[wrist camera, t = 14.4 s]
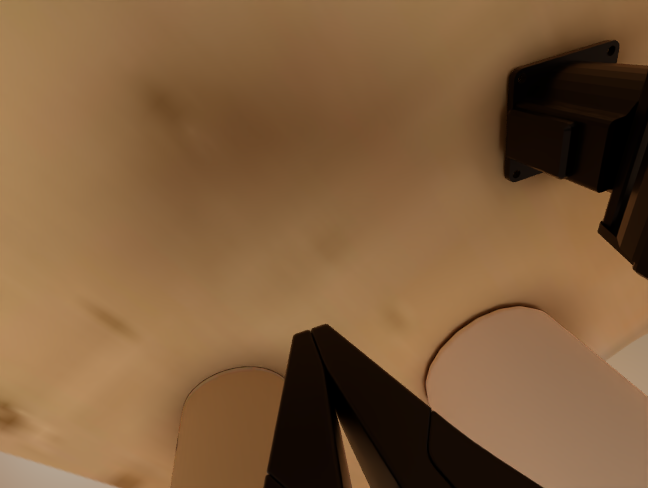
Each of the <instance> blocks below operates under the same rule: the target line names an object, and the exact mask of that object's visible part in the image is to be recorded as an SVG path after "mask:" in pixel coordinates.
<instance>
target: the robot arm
mask: <svg viewBox="0 0 648 488" xmlns="http://www.w3.org/2000/svg"><path fill="white" fill-rule="evenodd" d="M608 49H609V50H608ZM618 52H619V43H618V41H616V40H606V41H603V42H600V43H597V44H593V45H590V46H587V47H584V48H580V49H577V50H574V51H571V52H567V53H564V54H561V55H557V56H554V57H551V58H548V59H544V60H541V61H538V62H535V63H531V64H528V65H525V66H522V67H518V68H516V69H514V70H513V72H512V73H511V75H510V77H509V90H508V114H507V137H506V160H505V178H506V179H507V180H510V181H512V182H517V181H520V180H523V179H526V178H528V177H531V176H534V175H537V174H540V173H543V172H544V173H546V174H549V175H551V176H553V177H556V178H558V179H566V180H569V181H571V182H574V183H576V184H579V185H581V186H583V187H586V188H588V189H591V190H593V191H596V192H598V193H600V192H604V191H607V192H610V193H611V195H610V199H609V202H608V206H607V209H606V212H605V216H604V219H603V221H601V222H600V225H599V228H598V233H599V234H600V235H601V236H602V237H603V238H604V239H605V240H606V241H607V242H609V243H610V244H611V245H612V246H613V247H614V248H615V249H616V250H617V251H618V252H619V253H620V254H621V255H622V256H623V257H625V258H626V259H627V260H628V261H629V262H630V263H631V264H632V265H633V270H634V271H635V272H637V273H638V274H639V275H640V276H642V277H644V278H645V279H647V280H648V66H644V65H630V64H617V58H618ZM520 75H521V79H520V81H519V82H518V78H519V76H520ZM515 171H516V172H515ZM514 172H515V174H514V175H513V173H514ZM336 413H337V414H336ZM337 416H338V418H339V421H340V423H341V426H342V428H343V430H344V432H345V434H346V436H347V439H348V441H349V443H350V445H351V447H352V449H353V451H354V454H355V456H356V458H357V460H358V462H359V464H360V466H361V468H362V471H363V473H364V475H365V477H366V479H367V481H368V483H369V485H370V488H543V487H542V486H540V485H539V484H537V483H536V482H534V481H533V480H531V479H530V478H528V477H527V476H525V475H523V474H522V473H520V472H519V471H517V470H516V469H514V468H513V467H511V466H510V465H508V464H507V463H505V462H504V461H502V460H500V459H499V458H497V457H496V456H494V455H493V454H492V453H490V452H489V451H487V450H486V449H484V448H483V447H481V446H480V445H478V444H477V443H475V442H474V441H473V440H471V439H470V438H468V437H467V436H466V435H465V434H463V433H462V432H461V431H459V430H458V429H457V428H455V427H454V426H453V425H451V424H450V423H449V422H448V421H446V420H445V419H444V418H443V417H442V416H440V415H439V414H438V413H437V412H435V411H432V410H431V408H430V407H429V406H428V405H427V404H425V403H424V402H423V401H422V400H420V399H419V398H418V397H417V396H415V395H414V394H413V393H412V392H411V391H409V390H408V389H407V388H406V387H404V386H403V385H402V384H401V383H399V382H398V381H397V380H396V379H395V378H393V377H392V376H391V375H390V374H388V373H387V372H386V371H385V370H383V369H382V368H381V367H380V366H379V365H377V364H376V363H375V362H374V361H372V360H371V359H370V358H369V357H367V356H366V355H365V354H364V353H363V352H361V351H360V350H359V349H358V348H356V347H355V346H354V345H353V344H351V343H350V342H349V341H348V340H347V339H345V338H344V337H343V336H342V335H340V334H339V333H338V332H337V331H335V330H334V329H333V328H332V327H331V326H329V325H328V324H323V325H320V326H317V327H314V328H312V330H311V331H310V330H306V331H303V332H300V333H297V334H295V335H294V336H293V339H292V344H291V349H290V354H289V359H288V364H287V369H286V375H285V380H284V385H283V390H282V395H281V400H280V405H279V410H278V415H277V420H276V425H275V430H274V436H273V441H272V446H271V451H270V456H269V461H268V466H267V471H266V472H267V474H268V475H266V476H265V480H264V485H263V488H352V485H351V480H350V475H349V470H348V465H347V460H346V455H345V450H344V445H343V440H342V435H341V430H340V426H339V422H338V418H337Z"/></svg>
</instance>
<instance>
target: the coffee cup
mask: <svg viewBox="0 0 648 488" xmlns="http://www.w3.org/2000/svg"><path fill="white" fill-rule="evenodd" d="M284 380H285V379H284V378H283V377H282V376H280V375H279V374H277V373H275V372H273V371H270V370H268V369H264V368H258V367H241V368H235V369H230V370H226V371H223V372H220V373H218V374H215V375H213V376H211V377H209V378H208V379H206V380H205V381H203V382H202V383H200V384H199V385H198V386H197V387H196V388H195V389H194V390H193V391H192V392H191V393H190V395H189V396H188V398H187V400H186V401H185V404H184V407H183V410H182V416H181V421H180V427H179V433H178V440H177V446H176V453H175V460H174V466H173V473H172V480H171V487H170V488H263V485H264V480H265V476H266V475H268V474H267V472H266V471H267V466H268V461H269V456H270V451H271V446H272V441H273V436H274V430H275V425H276V420H277V415H278V410H279V405H280V400H281V395H282V390H283V385H284Z"/></svg>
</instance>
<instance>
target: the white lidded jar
mask: <svg viewBox="0 0 648 488" xmlns="http://www.w3.org/2000/svg"><path fill="white" fill-rule="evenodd" d="M426 390H427V396H428V402H429V405H430V407H431V408H432V410H433V411H435V412H437V413H438V414H439V415H440V416H442V417H443V418H444V419H445V420H446V421H448V422H449V423H450V424H451V425H453V426H454V427H455V428H457V429H458V430H459V431H461V432H462V433H463V434H465V435H466V436H467V437H468V438H470V439H471V440H473V441H474V442H475V443H477V444H478V445H480V446H481V447H483V448H484V449H486V450H487V451H489V452H490V453H492V454H493V455H494V456H496V457H497V458H499V459H500V460H502V461H504V462H505V463H507V464H508V465H510V466H511V467H513V468H514V469H516V470H517V471H519V472H520V473H522V474H523V475H525V476H527V477H528V478H530V479H531V480H533V481H534V482H536V483H537V484H539V485H540V486H542V487H543V488H648V396H647V395H645V394H644V393H643V392H642V391H640V390H639V389H638V388H637V387H635V386H634V385H633V384H632V383H631V382H630V381H628V380H627V379H626V378H625V377H623V376H622V375H621V374H620V373H618V372H617V371H616V370H615V369H614V368H612V367H611V366H610V365H609V364H608V363H606V362H605V361H604V360H603V359H602V358H600V357H599V356H598V355H597V354H596V353H594V352H593V351H592V350H591V349H589V348H588V347H587V346H586V345H585V344H583V343H582V342H581V341H580V340H579V339H577V338H576V337H575V336H574V335H572V334H571V333H570V332H569V331H568V330H566V329H565V328H564V327H563V326H562V325H560V324H559V323H558V322H557V321H555V320H554V319H553V318H552V317H550V316H549V315H548V314H547V313H545V312H544V311H541V310H537V309H533V308H527V307H522V306H516V307H510V308H503V309H498V310H496V311H493V312H491V313H489V314H486V315H484V316H481V317H479V318H477V319H475V320H474V321H473V322H471V323H470V324H468V325H467V326H465V327H464V328H462V329H461V330H459V331H458V332H457V333H456V334H455V335H454V336H453V337H452V338H451V339H450V340H449V341H448V342H447V343H446V344H445V345H444V346H443V347H442V348H441V349H440V351H439V352H438V354H437V355H436V357H435V359H434V360H433V362H432V364H431V365H430V368H429V371H428V375H427V379H426Z"/></svg>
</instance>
